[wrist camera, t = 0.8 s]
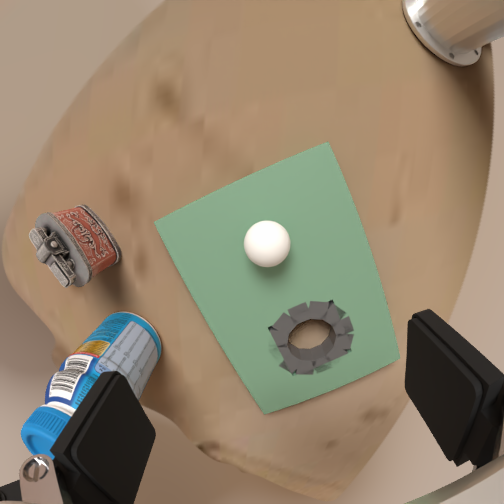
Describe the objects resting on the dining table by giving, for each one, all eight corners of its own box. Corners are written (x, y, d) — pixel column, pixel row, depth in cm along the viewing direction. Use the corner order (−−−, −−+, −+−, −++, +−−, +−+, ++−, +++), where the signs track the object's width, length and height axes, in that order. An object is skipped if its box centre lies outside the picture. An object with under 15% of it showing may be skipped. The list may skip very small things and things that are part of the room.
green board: (161, 218, 30) (153, 222, 27) (322, 144, 28) (328, 141, 26) (263, 401, 35) (264, 414, 33) (392, 348, 34) (400, 358, 31)
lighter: (69, 217, 30) (13, 234, 20) (85, 197, 29) (29, 208, 20) (109, 270, 31) (62, 304, 22) (127, 252, 31) (81, 282, 21)
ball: (277, 210, 27) (281, 216, 23) (294, 249, 28) (300, 261, 24) (237, 228, 28) (234, 237, 24) (255, 266, 28) (255, 280, 25)
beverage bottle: (174, 332, 33) (111, 470, 14) (149, 377, 35) (94, 500, 15) (113, 295, 32) (8, 399, 13) (95, 344, 34) (13, 447, 14)
